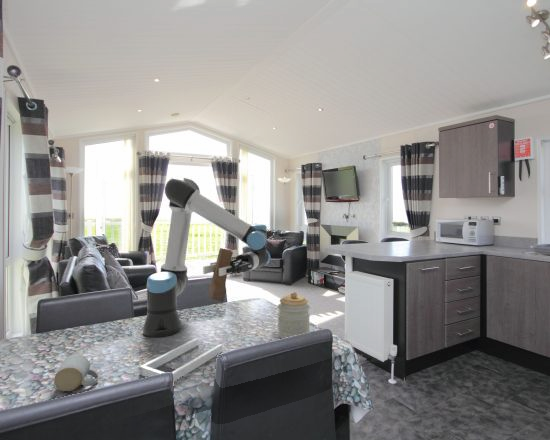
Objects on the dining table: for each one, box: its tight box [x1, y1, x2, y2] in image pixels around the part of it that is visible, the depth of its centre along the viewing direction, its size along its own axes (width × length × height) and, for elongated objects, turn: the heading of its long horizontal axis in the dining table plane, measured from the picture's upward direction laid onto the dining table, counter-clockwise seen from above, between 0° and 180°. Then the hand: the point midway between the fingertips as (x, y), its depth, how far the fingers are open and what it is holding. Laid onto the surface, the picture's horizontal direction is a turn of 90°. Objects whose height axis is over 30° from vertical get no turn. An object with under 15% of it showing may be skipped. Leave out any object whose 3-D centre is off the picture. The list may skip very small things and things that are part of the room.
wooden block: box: [208, 247, 234, 302], centre depth 123 cm, size 9×4×18 cm, turn 19°
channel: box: [139, 337, 223, 383], centre depth 109 cm, size 12×25×2 cm, turn 151°
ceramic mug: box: [53, 353, 100, 392], centre depth 95 cm, size 11×8×8 cm
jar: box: [276, 291, 311, 339], centre depth 132 cm, size 13×13×18 cm
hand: (211, 271), depth 120 cm, fingers closed on wooden block, 7 cm apart
